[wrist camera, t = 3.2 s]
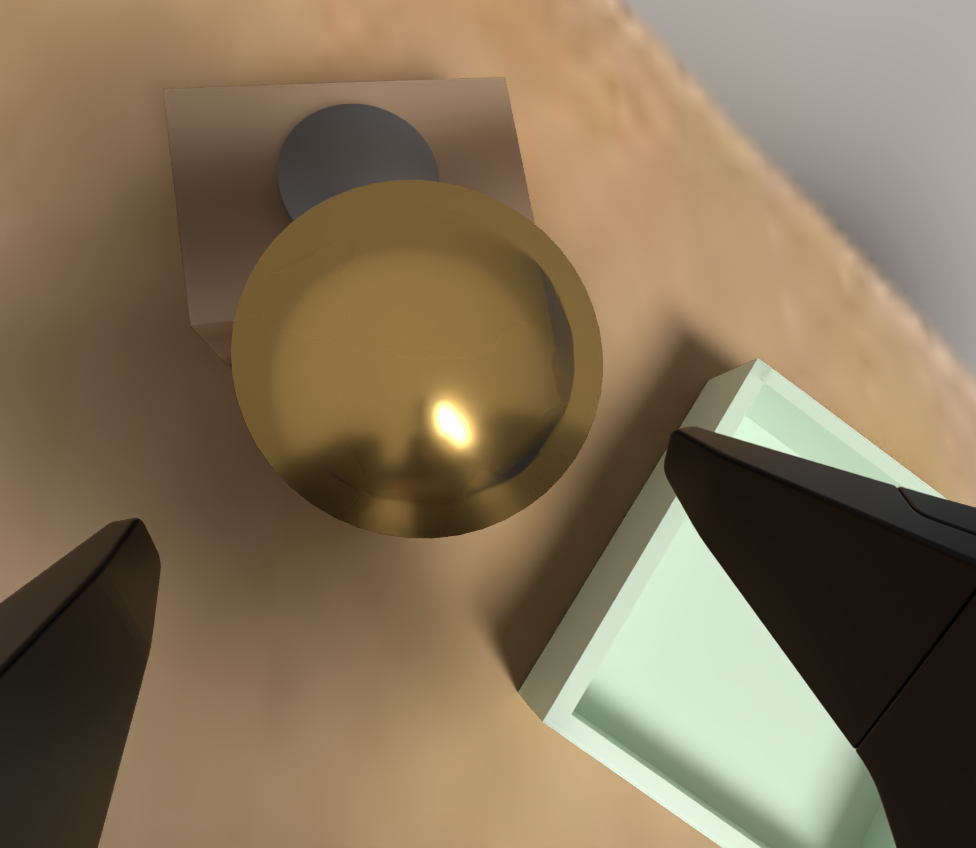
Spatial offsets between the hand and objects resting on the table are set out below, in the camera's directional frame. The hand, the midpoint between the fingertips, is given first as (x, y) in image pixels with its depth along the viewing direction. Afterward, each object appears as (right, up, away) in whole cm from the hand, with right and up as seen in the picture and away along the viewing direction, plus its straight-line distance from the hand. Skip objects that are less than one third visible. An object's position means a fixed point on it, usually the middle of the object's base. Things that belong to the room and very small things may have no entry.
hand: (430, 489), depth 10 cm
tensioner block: (-3, +7, +11) cm, 14 cm away
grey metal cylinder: (-2, 0, +10) cm, 10 cm away
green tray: (+11, -6, +11) cm, 17 cm away
